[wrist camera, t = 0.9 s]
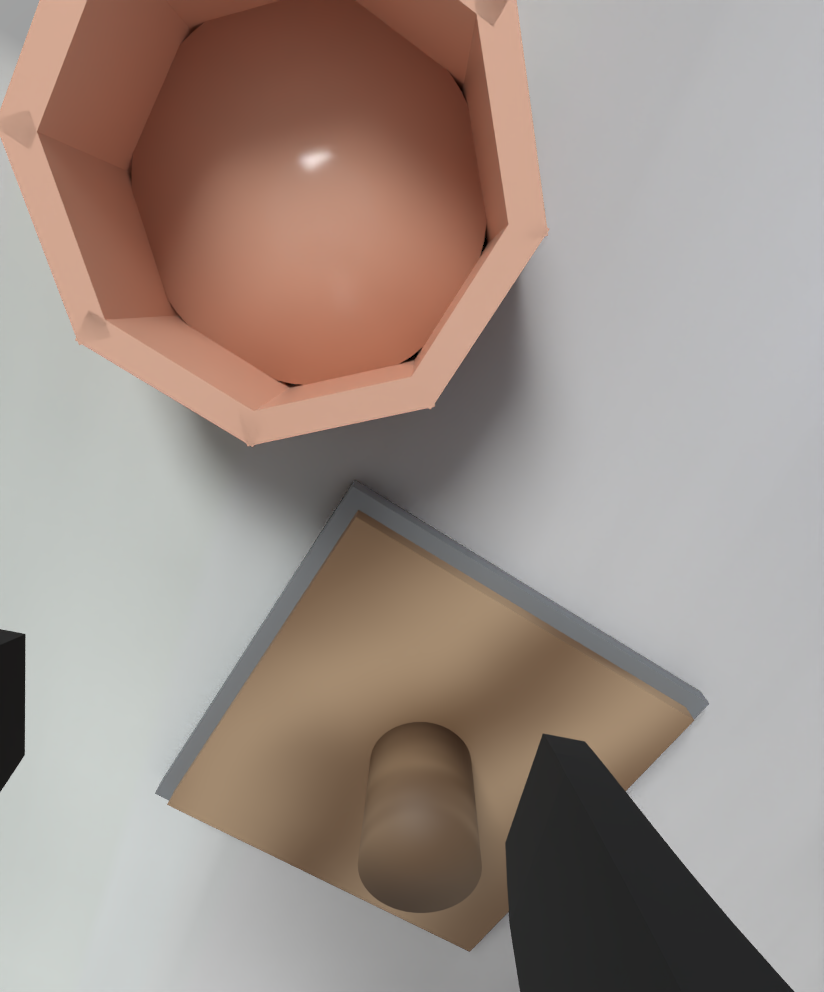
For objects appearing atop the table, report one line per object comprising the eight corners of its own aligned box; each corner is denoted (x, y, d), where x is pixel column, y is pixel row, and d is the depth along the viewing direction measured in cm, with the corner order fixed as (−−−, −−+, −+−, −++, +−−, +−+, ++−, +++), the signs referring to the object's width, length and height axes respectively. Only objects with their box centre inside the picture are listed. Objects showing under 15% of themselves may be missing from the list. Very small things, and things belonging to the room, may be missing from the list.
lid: (685, 707, 19) (757, 818, 15) (468, 934, 22) (478, 1076, 18) (358, 509, 17) (337, 574, 13) (174, 790, 20) (112, 912, 16)
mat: (700, 691, 19) (709, 703, 18) (470, 931, 23) (471, 948, 22) (354, 480, 17) (352, 485, 16) (162, 779, 21) (154, 793, 20)
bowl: (587, 143, 14) (647, 85, 10) (376, 467, 17) (363, 516, 13) (231, -131, 13) (149, -314, 9) (61, 272, 15) (-58, 262, 12)
